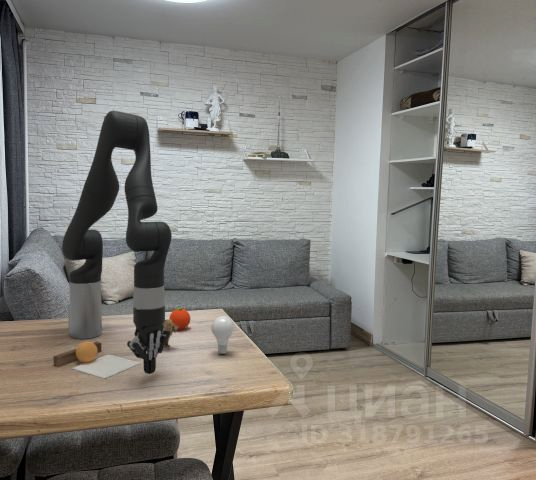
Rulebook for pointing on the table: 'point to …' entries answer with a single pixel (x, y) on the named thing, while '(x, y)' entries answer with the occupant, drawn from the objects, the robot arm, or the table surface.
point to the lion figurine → (169, 329)
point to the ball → (86, 351)
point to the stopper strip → (70, 356)
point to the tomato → (180, 318)
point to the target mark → (106, 366)
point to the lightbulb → (222, 332)
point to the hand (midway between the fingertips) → (149, 372)
